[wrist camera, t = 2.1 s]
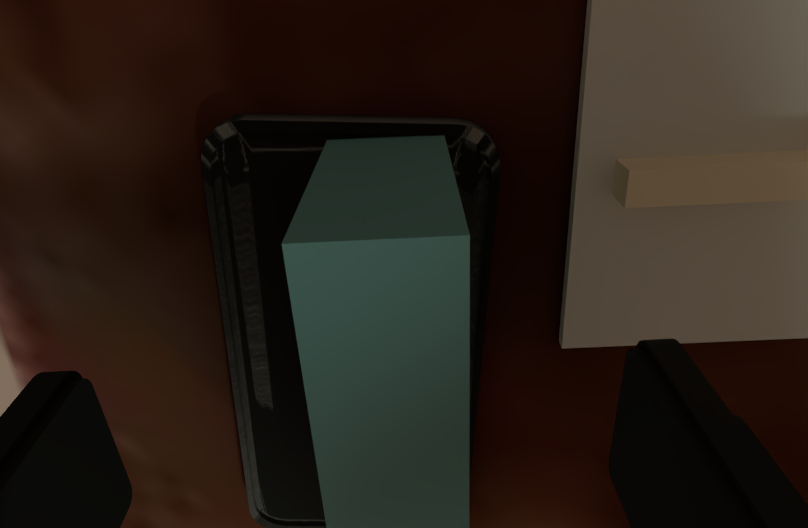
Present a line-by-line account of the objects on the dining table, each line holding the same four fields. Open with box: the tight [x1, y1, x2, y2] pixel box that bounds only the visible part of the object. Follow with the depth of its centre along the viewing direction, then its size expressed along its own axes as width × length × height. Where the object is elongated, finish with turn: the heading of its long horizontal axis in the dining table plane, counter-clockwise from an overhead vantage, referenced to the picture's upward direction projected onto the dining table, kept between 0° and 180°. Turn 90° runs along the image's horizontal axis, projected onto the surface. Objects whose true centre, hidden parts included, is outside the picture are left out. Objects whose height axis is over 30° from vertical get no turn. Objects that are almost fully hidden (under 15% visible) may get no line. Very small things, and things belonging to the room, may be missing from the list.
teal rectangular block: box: [282, 135, 470, 528], centre depth 14 cm, size 8×3×7 cm, turn 3°
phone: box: [201, 113, 500, 528], centre depth 18 cm, size 8×1×15 cm
